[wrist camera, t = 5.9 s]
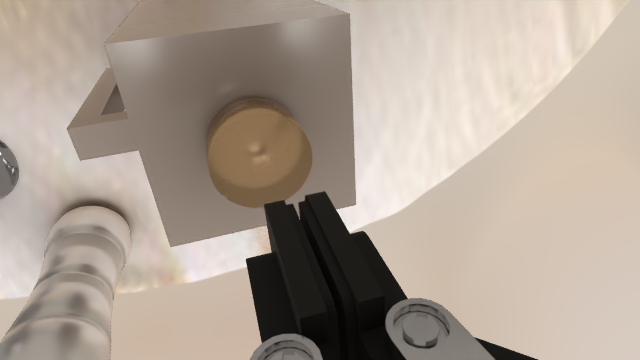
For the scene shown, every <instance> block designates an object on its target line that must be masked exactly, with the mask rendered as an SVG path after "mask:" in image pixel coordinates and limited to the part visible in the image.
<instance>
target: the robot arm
mask: <svg viewBox="0 0 640 360" xmlns="http://www.w3.org/2000/svg"><path fill="white" fill-rule="evenodd" d="M298 206H299V215H300V219H299V216H298V214H297V212H296V209H295V207H294V205H293V203H292V204H288V205H286V203H285V201H284V200H281V201H276V202H271V203H266V204H264V210H265V216H266V222H267V228H268V233H269V239H270V245H271V251H272V253H268V254H264V255H260V256H256V257H251V258H247V259H246V263H247V268H248V273H249V279H250V284H251V289H252V294H253V299H254V305H255V310H256V315H257V320H258V326H259V331H260V336H261V341H262V344H261V345H260V346H259V347H258V348H257V349H256V350H255V351H254V353H253V355H252V357H251V358H250V360H538V359H534V358H532V357H529V356H526V355H523V354H520V353H518V352H515V351H512V350H509V349H506V348H504V347H501V346H498V345H495V344H492V343H489V342H487V341H484V340H481V339H478V338H475V337H473V336H472V335H471V334H470V333H469V332H468V331H467V330H466V329H465V328H464V326H463V325H461V323H460V322H459V321H458V320H457V319H456V318H455V317H454V316H453V315H452V314H451V313H450V312H449V311H448V310H447V309H445V308H444V307H443V306H442V305H440V304H438V303H436V302H433V301H431V300H427V299H422V298H411V299H408V298H407V297H406V295H405V294H404V292H403V290H402V289H401V287H400V286H399V284H398V283H397V281H396V279H395V278H394V276H393V275H392V273H391V271H390V270H389V268H388V267H387V265H386V264H385V262H384V260H383V259H382V257H381V256H380V254H379V252H378V251H377V249H376V248H375V246H374V245H373V243H372V241H371V240H370V238H369V237H368V235H367V234H366V233H365V232H364V231H361V232H356V233H352V234H350V233H349V232H348V230H347V228H346V226H345V225H344V223H343V221H342V219H341V218H340V216H339V214H338V212H337V211H336V209H335V207H334V205H333V204H332V202H331V200H330V198H329V197H328V195H327V193H326V192H325V191H323V192H318V193H313V194H309V195H305V201H301V202H299V203H298Z"/></svg>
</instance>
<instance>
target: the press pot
mask: <svg viewBox="0 0 640 360" xmlns="http://www.w3.org/2000/svg"><path fill="white" fill-rule="evenodd" d="M104 46H105V49H106V52H107V55H108V58H109V61H110V64H111V67H112V68H106V70H105V71H104V73H103V74H102V76H101V77H100V79H99V80H98V82H97V84H96V85H95V87H94V88H93V90H92V91H91V93H90V94H89V96H88V97H87V99H86V100H85V102H84V103H83V105H82V106H81V108H80V110H79V111H78V113H77V114H76V116H75V117H74V119H73V120H72V122H71V123H70V125H69V126H68V128H67V130H68V133H69V135H70V137H71V140H72V142H73V145H74V147H75V149H76V152H77V154H78V157H79V159H80V161H81V160H86V159H92V158H98V157H103V156H109V155H114V154H120V153H126V152H131V151H137V150H139V153H140V156H141V159H142V162H143V165H144V168H145V171H146V174H147V177H148V180H149V183H150V186H151V189H152V192H153V195H154V198H155V201H156V204H157V207H158V210H159V213H160V216H161V219H162V223H163V226H164V229H165V232H166V235H167V238H168V241H169V244H170V247H173V246H178V245H182V244H186V243H191V242H195V241H200V240H204V239H208V238H213V237H217V236H222V235H226V234H230V233H235V232H239V231H244V230H248V229H252V228H257V227H261V226H265V225H267V222H266V216H265V210H264V208H250V207H244V206H241V205H237V204H235V203H233V202H231V201H229V200H228V199H226V198H225V197H224V196H223V195H221V194H220V192H219V191H218V190H217V189H216V187H215V186H214V184H213V182H212V180H211V177H210V174H209V168H208V160H207V152H206V135H207V131H208V128H209V126H210V123H211V122H212V120H213V118H214V117H215V116H216V115H217V113H218V112H219V111H221V110H222V109H223V108H224V107H225V106H227V105H228V104H230V103H232V102H234V101H237V100H240V99H243V98H249V97H261V98H267V99H270V100H273V101H276V102H278V103H279V104H281V105H283V106H284V107H285V108H286V109H288V110H289V112H290V113H291V114H292V115H293V117H294V118H295V120H296V121H297V123H298V124H299V126H300V127H301V129H302V130H303V132H304V133H305V135H306V136H307V138H308V140H309V142H310V145H311V149H312V166H311V170H310V173H309V176H308V178H307V180H306V181H305V183H304V184H303V186H302V187H301V188H300V189H299V190H298V191H297V192H296V193H295V194H294V195H293V196H292V197H290V198H289V199H287V200H285V203H286V205H288V204H292V203H293V205H294V207H295V209H296V212H297V214H298V216H299V218H300V215H299V206H298V203H299V202H301V201H305V195H309V194H313V193H318V192H323V191H325V192H326V193H327V195H328V197H329V198H330V200H331V202H332V204H333V205H334V207H335V209H340V208H344V207H349V206H353V205H356V190H355V159H354V129H353V99H352V69H351V38H350V14H349V13H347V12H344V11H341V10H339V9H336V8H333V7H331V6H328V5H325V4H323V3H320V2H317V1H315V0H141V1H140V2H139V4H138V5H137V6H136V7H135V8H134V9H133V11H132V12H131V13H130V14H129V15H128V16H127V18H126V19H125V20H124V21H123V22H122V24H121V25H120V26H119V27H118V28H117V29H116V31H115V32H114V33H113V34H112V35H111V36H110V38H109V39H108V40H107V41H106V42H105V43H104ZM124 110H126V111H124Z"/></svg>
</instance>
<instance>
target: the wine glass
mask: <svg viewBox="0 0 640 360" xmlns="http://www.w3.org/2000/svg"><path fill="white" fill-rule="evenodd" d="M18 176H19V169H18V164H17V161H16V158H15V157H14V155H13V153H12V152H11V150H10V149H9V148H8V147H7V146H6V145H5V144H4V143H3V142H2V141H1V140H0V199H2V198H4V197H5V196H7V195H8V194H9V193H10V192H11V191H12V190H13V189H14V187H15V185H16V183H17V181H18Z"/></svg>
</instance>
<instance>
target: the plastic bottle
mask: <svg viewBox="0 0 640 360" xmlns="http://www.w3.org/2000/svg"><path fill="white" fill-rule="evenodd" d="M131 244H132V242H131V233H130V228H129V226H128V224H127V222H126V221H125V220H124V219H123V218H122V217H121V216H120V215H119V214H118V213H116V212H114V211H113V210H110V209H108V208H105V207H100V206H82V207H79V208H75V209H73V210H71V211H69V212H67V213H66V214H64V215H63V216H62V217H61V218H60V219H59V220H58V222H57V223H56V224H55V225H54V226H53V227H52V229H51V231H50V232H49V234H48V238H47V243H46V247H45V254H44V262H43V265H42V268H41V272H40V275H39V279H38V282H37V284H36V286H35V288H34V289H33V291H32V293H31V295H30V297H29V299H28V301H27V303H26V305H25V307H24V308H23V310H22V311H21V313H20V314H19V316H18V317H17V318H16V320H15V321H14V323H13V324H12V326H11V327H10V329H9V330H8V332H7V333H6V335H5V336H4V337H3V339H2V341H1V343H0V360H110V357H111V315H112V307H113V299H114V292H115V289H116V286H117V282H118V279H119V276H120V273H121V271H122V269H123V268H124V266H125V264H126V262H127V259H128V257H129V254H130V251H131Z"/></svg>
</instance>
